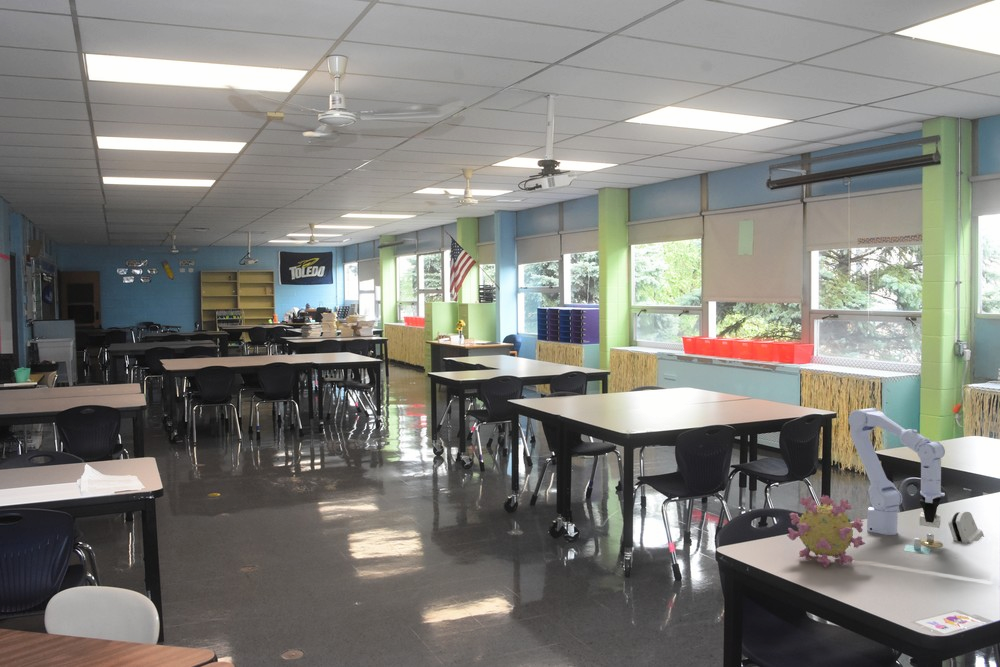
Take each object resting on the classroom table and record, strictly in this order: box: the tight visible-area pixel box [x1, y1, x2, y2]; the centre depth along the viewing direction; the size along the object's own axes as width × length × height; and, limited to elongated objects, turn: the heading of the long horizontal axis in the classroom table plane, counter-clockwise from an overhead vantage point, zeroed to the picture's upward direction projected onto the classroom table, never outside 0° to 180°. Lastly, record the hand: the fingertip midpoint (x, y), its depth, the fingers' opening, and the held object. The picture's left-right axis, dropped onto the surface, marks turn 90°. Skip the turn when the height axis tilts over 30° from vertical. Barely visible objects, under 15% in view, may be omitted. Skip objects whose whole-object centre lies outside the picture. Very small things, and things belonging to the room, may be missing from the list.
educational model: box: [786, 494, 866, 569], centre depth 237 cm, size 23×22×20 cm
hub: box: [920, 533, 943, 548], centre depth 252 cm, size 7×7×4 cm
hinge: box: [948, 511, 984, 544], centre depth 260 cm, size 17×5×10 cm, turn 136°
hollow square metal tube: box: [918, 511, 941, 529], centre depth 251 cm, size 6×6×3 cm
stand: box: [903, 537, 932, 555], centre depth 246 cm, size 7×7×4 cm
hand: (930, 519), depth 251 cm, fingers closed on hollow square metal tube, 6 cm apart
